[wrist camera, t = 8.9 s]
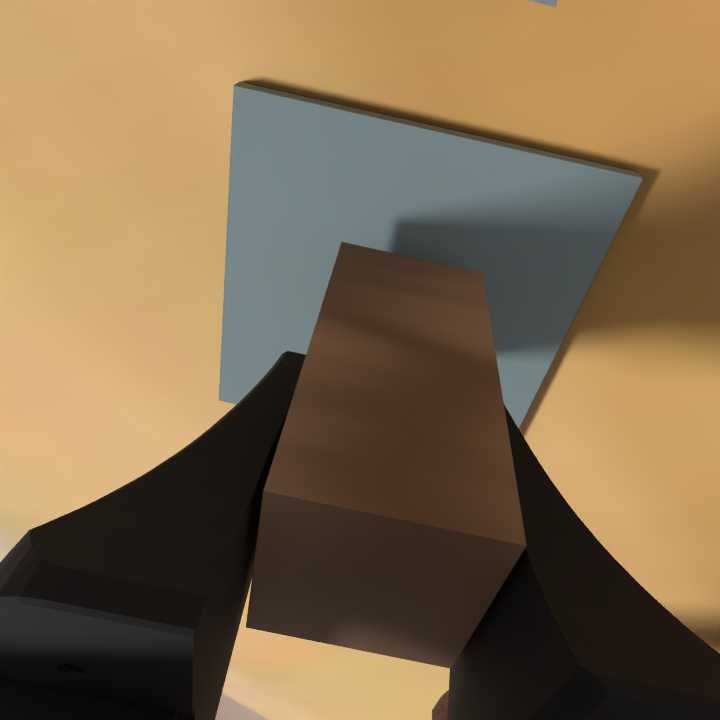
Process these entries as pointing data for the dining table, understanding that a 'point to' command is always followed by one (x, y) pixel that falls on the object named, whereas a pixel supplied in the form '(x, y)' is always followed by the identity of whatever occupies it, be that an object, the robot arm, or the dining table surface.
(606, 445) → the dining table surface
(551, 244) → the mat
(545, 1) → the grey flat block
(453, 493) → the tall wooden block
